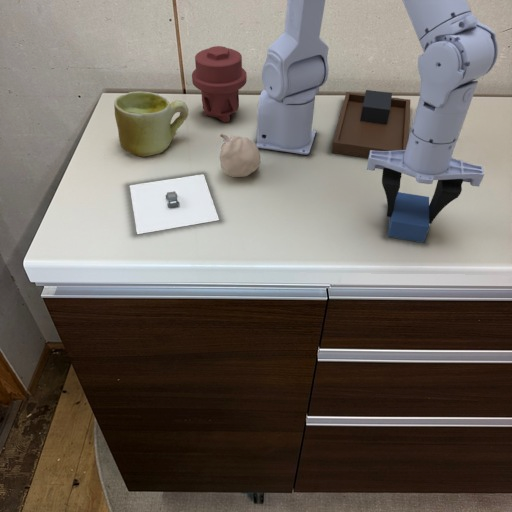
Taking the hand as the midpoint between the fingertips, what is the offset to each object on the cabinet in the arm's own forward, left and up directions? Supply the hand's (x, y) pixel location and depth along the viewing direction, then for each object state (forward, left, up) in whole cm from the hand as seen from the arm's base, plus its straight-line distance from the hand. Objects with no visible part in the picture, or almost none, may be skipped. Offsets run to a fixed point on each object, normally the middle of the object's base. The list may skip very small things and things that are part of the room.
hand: (408, 215), depth 68 cm
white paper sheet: (-35, -4, -2) cm, 35 cm away
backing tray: (-7, +26, -2) cm, 27 cm away
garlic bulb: (-27, +6, -2) cm, 28 cm away
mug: (-44, +11, -2) cm, 45 cm away
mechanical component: (-36, +24, -2) cm, 43 cm away
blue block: (0, 0, -2) cm, 2 cm away
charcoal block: (-7, +31, -1) cm, 32 cm away
